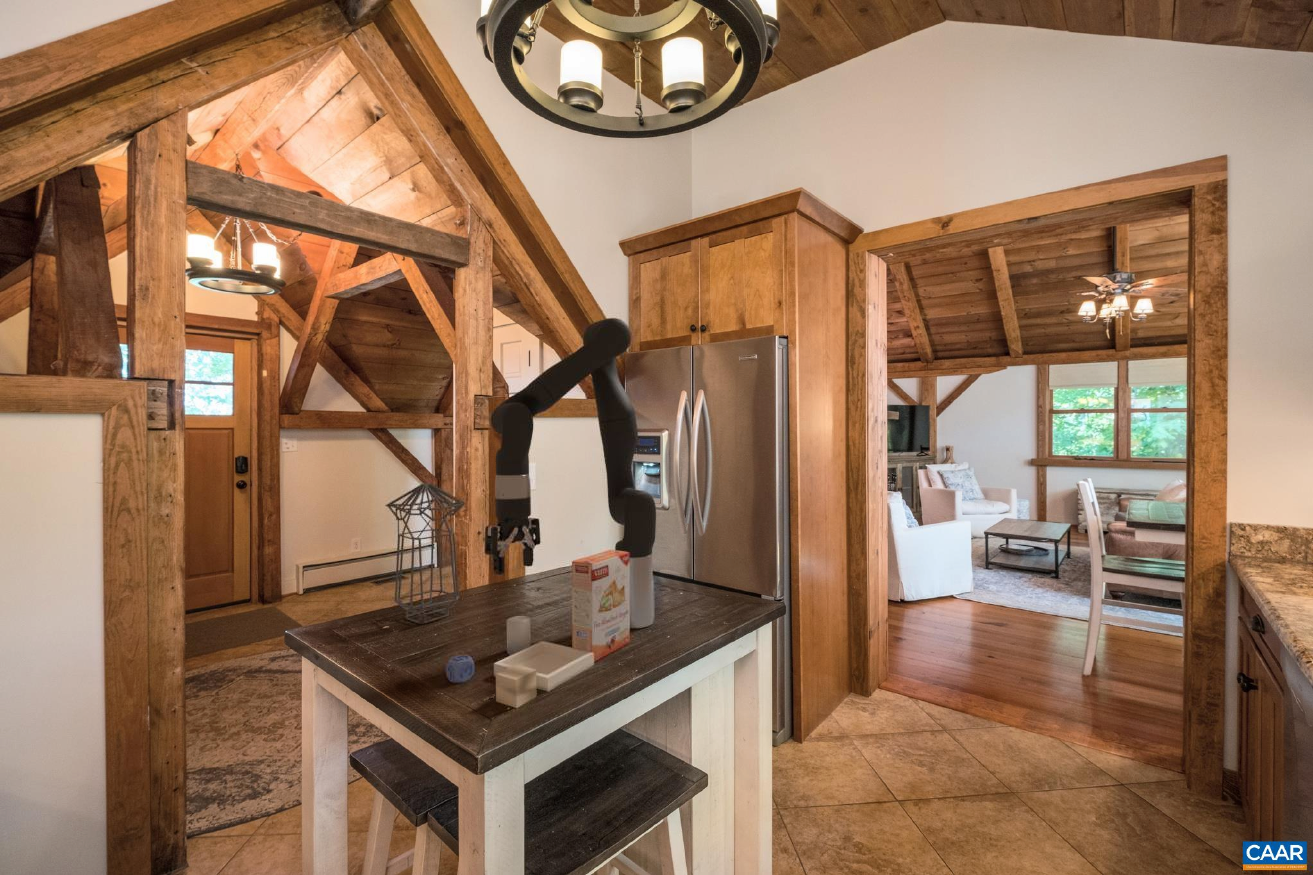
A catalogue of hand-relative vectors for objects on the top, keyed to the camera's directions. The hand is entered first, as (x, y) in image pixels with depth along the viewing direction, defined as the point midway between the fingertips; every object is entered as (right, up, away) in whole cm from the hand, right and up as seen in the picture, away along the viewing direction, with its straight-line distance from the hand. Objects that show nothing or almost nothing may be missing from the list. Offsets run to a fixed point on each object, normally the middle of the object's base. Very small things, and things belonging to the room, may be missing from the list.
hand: (514, 569), depth 127 cm
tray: (+8, -18, -9) cm, 22 cm away
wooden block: (+6, -18, -22) cm, 29 cm away
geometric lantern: (-29, -18, +26) cm, 43 cm away
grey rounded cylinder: (+1, -18, +1) cm, 18 cm away
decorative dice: (-8, -19, -13) cm, 24 cm away
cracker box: (+19, -18, +1) cm, 26 cm away
